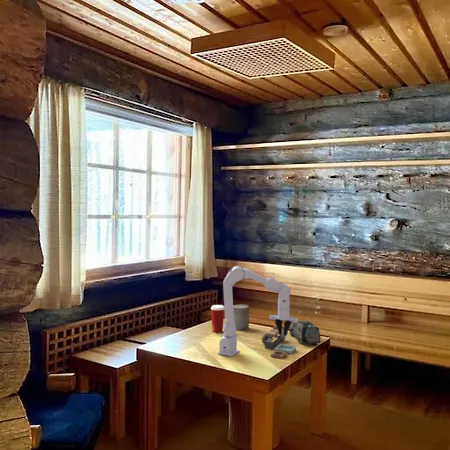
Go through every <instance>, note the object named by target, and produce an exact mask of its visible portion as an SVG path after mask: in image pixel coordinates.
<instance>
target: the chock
mask: <svg viewBox="0 0 450 450" xmlns="http://www.w3.org/2000/svg"><path fill="white" fill-rule="evenodd" d="M274 338H275V337H273V338H269V339H268V340H266V341H265V343H264V349H266V350H271V351H274V350H275V347H277V346H278V345H277V338H275V339H274Z"/></svg>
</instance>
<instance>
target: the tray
mask: <svg viewBox="0 0 450 450" xmlns="http://www.w3.org/2000/svg"><path fill="white" fill-rule="evenodd" d="M274 351H280V352H286V355H290V356H291V355H292V354H293V353H294V352H295V351H297V346H295V345H290V344H283V343H279V344H278V345H277V347H275V348H274Z"/></svg>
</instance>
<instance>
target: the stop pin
mask: <svg viewBox="0 0 450 450" xmlns="http://www.w3.org/2000/svg"><path fill="white" fill-rule="evenodd" d="M284 333H285V327H284V326H282V327H281V339H284V340H286V336H285V334H284Z"/></svg>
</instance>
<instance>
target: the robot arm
mask: <svg viewBox="0 0 450 450" xmlns="http://www.w3.org/2000/svg"><path fill="white" fill-rule="evenodd" d="M243 279H244V280H246V279H251V280H254V281H255V282H258V283H259V284H262V285H264V288H265V289H267V290H268V291H271V292H273V293H275V294H278V299H277V314H270V315H269V320H275V321H274V324H275V326H276V327H277V328H278V332H279V334H278V336H280V335H281V327H285V333H284V334H285V337H286V336H288V332H289V327H290V325H291V324H293V322H294V323H297V322H298V321H299V319H298V317H293V316H290V295H291V288H290V287H289V286H288V285H287V284H285V283H283V282H282V281H281V282H280V281H279V280H276V279H275V277H264V276H263V275H260V274H258V273H256V272H255V271H252V270H250V269H248V268H246V267H242V266H240V265H235V266H233V267H232V268H230V269H229V271H228V273H227V274H226V277H224V280H223V281H222V283H223V284H222V285H223V302H224V303H223V304H224V305H223V306H224V308H225V309H224V322H223V333H222V338H221V339H220V340H219V352H217V354H218V355H221V356H222V355H223V356H228V357H233V356H235V355H237V354H238V353H239V352H240V350H239V349H237V345H238V344H237V343H238V340H237V339H238V333H237V330H236V324H235V322H234V314H233V306H234V298H233V296H234V295H233V286H234V285H235V284H236V283H237V282H240V281H242V280H243Z"/></svg>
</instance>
